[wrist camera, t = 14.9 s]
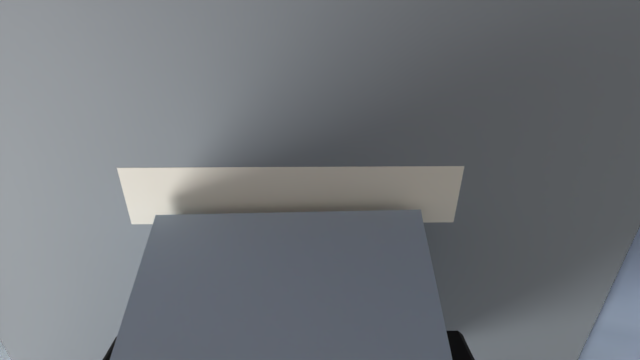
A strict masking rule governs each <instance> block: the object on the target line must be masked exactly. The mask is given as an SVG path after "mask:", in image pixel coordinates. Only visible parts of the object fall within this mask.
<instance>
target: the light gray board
mask: <svg viewBox="0 0 640 360" xmlns="http://www.w3.org/2000/svg"><path fill="white" fill-rule="evenodd" d="M374 210H421V213H422V218H423V223H424V228H425V232H426V237H427V242H428V246H429V251H430V256H431V261H432V265H433V270H434V275H435V279H436V284H437V289H438V294H439V298H440V303H441V308H442V312H443V317H444V322H445V327H446V331H459V332H460V333H461V334H463V336H464V339H465V341H466V343H467V345H468V347H469V349H470V351H471V353H472V355H473V357H474V359H475V360H578V358H579V356H580V353H581V351H582V349H583V347H584V345H585V343H586V341H587V338H588V336H589V334H590V332H591V330H592V328H593V325H594V323H595V321H596V319H597V317H598V315H599V313H600V310H601V308H602V306H603V304H604V302H605V300H606V298H607V295H608V293H609V291H610V289H611V287H612V285H613V283H614V280H615V278H616V276H617V274H618V272H619V270H620V267H621V265H622V263H623V261H624V259H625V257H626V255H627V252H628V250H629V248H630V246H631V244H632V242H633V240H634V237H635V235H636V233H637V231H638V229H639V227H640V0H0V340H1V342H2V344H3V346H4V348H5V350H6V351H7V353H8V355H9V357H10V359H11V360H103V358H104V356H105V355H106V353H107V351H108V350H109V348H110V346H111V345H112V343H113V341H114V339H115V338H116V337H117V335H118V332H119V329H120V326H121V323H122V319H123V316H124V313H125V310H126V307H127V304H128V300H129V297H130V294H131V291H132V288H133V285H134V282H135V278H136V275H137V272H138V269H139V266H140V263H141V260H142V256H143V253H144V250H145V247H146V244H147V241H148V238H149V234H150V231H151V228H152V225H153V222H154V219H155V215H176V214H226V213H275V212H325V211H374Z"/></svg>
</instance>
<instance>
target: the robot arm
mask: <svg viewBox="0 0 640 360" xmlns="http://www.w3.org/2000/svg"><path fill="white" fill-rule="evenodd" d="M447 336H448V341H449V345H450V350H451V355H452V360H475V359H474V357H473V355H472V353H471V351H470V349H469V347H468V345H467V343H466V341H465V339H464V336H463V334H461V333H460V332H459V331H447ZM116 338H117V337H116ZM116 338H115V339H114V341H113V343H112V345H111V346H110V348H109V350H108V351H107V353H106V355H105V356H104V358H103V360H110V357H111V354H112V351H113V348H114V345H115V341H116Z"/></svg>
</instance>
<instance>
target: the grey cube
mask: <svg viewBox="0 0 640 360" xmlns="http://www.w3.org/2000/svg"><path fill="white" fill-rule="evenodd" d="M110 360H452V355H451V350H450V345H449V341H448V336H447V331H446V327H445V322H444V317H443V312H442V308H441V303H440V298H439V294H438V289H437V284H436V279H435V275H434V270H433V265H432V261H431V256H430V251H429V246H428V242H427V237H426V232H425V228H424V223H423V218H422V213H421V210H374V211H325V212H275V213H226V214H176V215H155V219H154V222H153V225H152V228H151V231H150V234H149V238H148V241H147V244H146V247H145V250H144V253H143V256H142V260H141V263H140V266H139V269H138V272H137V275H136V278H135V282H134V285H133V288H132V291H131V294H130V297H129V300H128V304H127V307H126V310H125V313H124V316H123V319H122V323H121V326H120V329H119V332H118V335H117V338H116V341H115V345H114V348H113V351H112V354H111V357H110Z"/></svg>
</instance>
